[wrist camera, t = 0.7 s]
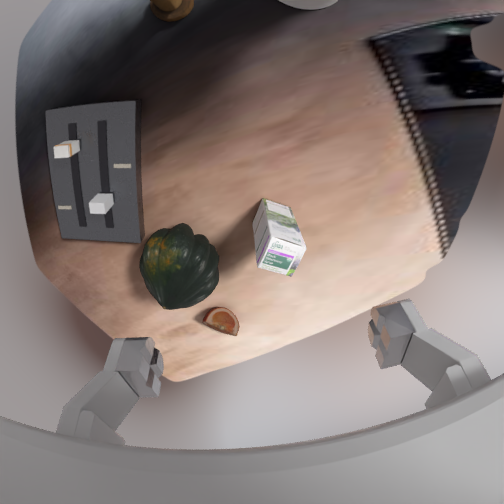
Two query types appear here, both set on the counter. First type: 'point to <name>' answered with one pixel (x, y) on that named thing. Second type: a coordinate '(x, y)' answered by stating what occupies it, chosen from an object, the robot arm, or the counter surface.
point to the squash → (179, 267)
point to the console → (98, 169)
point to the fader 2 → (101, 203)
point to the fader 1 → (66, 149)
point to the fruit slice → (222, 321)
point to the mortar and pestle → (171, 9)
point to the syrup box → (277, 238)
